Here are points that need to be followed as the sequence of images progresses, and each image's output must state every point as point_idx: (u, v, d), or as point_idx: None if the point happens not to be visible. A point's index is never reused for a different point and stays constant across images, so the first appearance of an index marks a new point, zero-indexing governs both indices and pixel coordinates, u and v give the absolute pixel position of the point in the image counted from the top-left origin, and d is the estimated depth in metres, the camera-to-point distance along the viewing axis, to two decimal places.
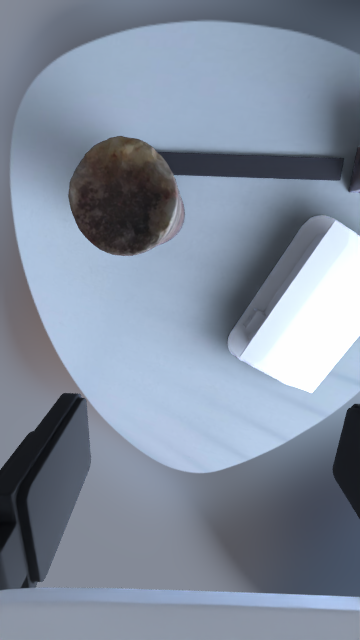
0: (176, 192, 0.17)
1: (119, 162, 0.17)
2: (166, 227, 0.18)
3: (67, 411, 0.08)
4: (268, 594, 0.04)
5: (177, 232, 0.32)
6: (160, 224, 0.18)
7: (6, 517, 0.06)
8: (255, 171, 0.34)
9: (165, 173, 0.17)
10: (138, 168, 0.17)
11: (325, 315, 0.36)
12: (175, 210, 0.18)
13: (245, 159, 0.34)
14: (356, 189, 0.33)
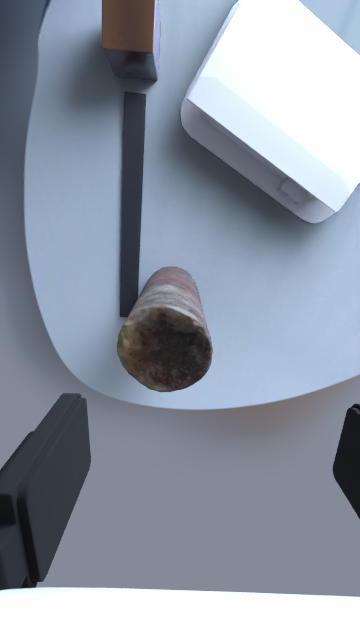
0: (160, 306, 0.19)
1: (136, 350, 0.20)
2: (190, 318, 0.19)
3: (67, 411, 0.08)
4: (268, 594, 0.04)
5: (189, 278, 0.33)
6: (187, 323, 0.19)
7: (6, 517, 0.06)
8: (136, 194, 0.35)
9: (145, 315, 0.19)
10: (140, 336, 0.20)
11: (301, 96, 0.29)
12: (175, 308, 0.19)
13: (126, 204, 0.35)
14: (155, 72, 0.30)
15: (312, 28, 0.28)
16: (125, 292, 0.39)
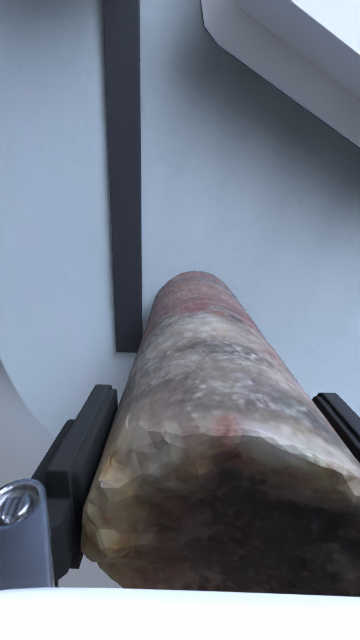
0: (221, 428, 0.05)
1: (142, 547, 0.07)
2: (338, 476, 0.05)
3: (103, 400, 0.09)
4: (268, 594, 0.04)
5: (229, 290, 0.20)
6: (323, 487, 0.05)
7: (62, 492, 0.06)
8: (132, 154, 0.21)
9: (167, 460, 0.05)
10: (154, 511, 0.06)
11: None
12: (280, 438, 0.05)
13: (115, 174, 0.21)
14: None
15: None
16: (122, 314, 0.25)
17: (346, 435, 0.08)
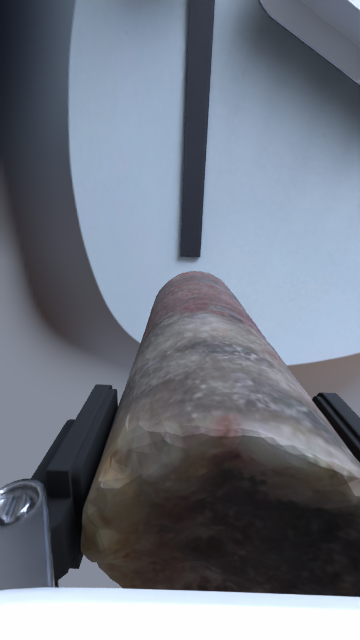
0: (222, 428, 0.05)
1: (142, 547, 0.07)
2: (338, 476, 0.05)
3: (103, 400, 0.09)
4: (268, 594, 0.04)
5: (229, 290, 0.20)
6: (323, 487, 0.05)
7: (62, 492, 0.06)
8: (203, 97, 0.29)
9: (167, 461, 0.05)
10: (154, 511, 0.06)
11: None
12: (280, 438, 0.05)
13: (190, 112, 0.29)
14: None
15: None
16: (187, 224, 0.33)
17: (346, 435, 0.08)
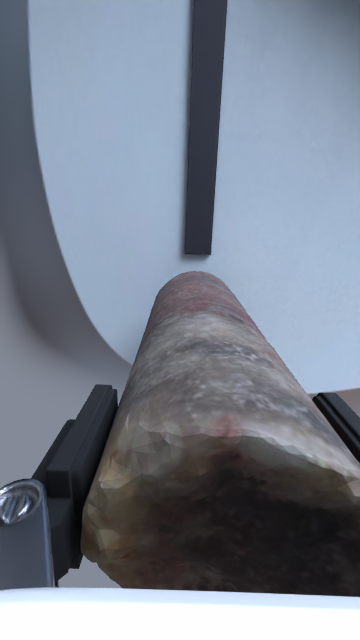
0: (221, 428, 0.05)
1: (142, 547, 0.07)
2: (338, 476, 0.05)
3: (103, 400, 0.09)
4: (268, 594, 0.04)
5: (229, 290, 0.20)
6: (323, 488, 0.05)
7: (62, 492, 0.06)
8: (217, 30, 0.21)
9: (167, 461, 0.05)
10: (154, 512, 0.06)
11: None
12: (280, 438, 0.05)
13: (198, 52, 0.21)
14: None
15: None
16: (194, 211, 0.24)
17: (346, 435, 0.08)
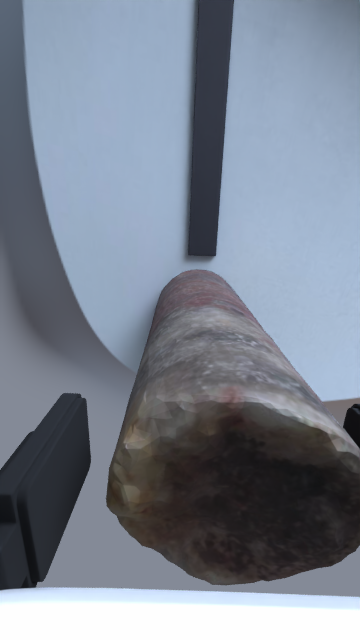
0: (227, 396, 0.06)
1: (158, 503, 0.08)
2: (323, 434, 0.06)
3: (67, 411, 0.08)
4: (268, 594, 0.04)
5: (230, 287, 0.21)
6: (311, 445, 0.06)
7: (6, 517, 0.06)
8: (224, 15, 0.19)
9: (182, 424, 0.07)
10: (170, 471, 0.07)
11: None
12: (276, 404, 0.06)
13: (204, 39, 0.20)
14: None
15: None
16: (198, 210, 0.23)
17: None
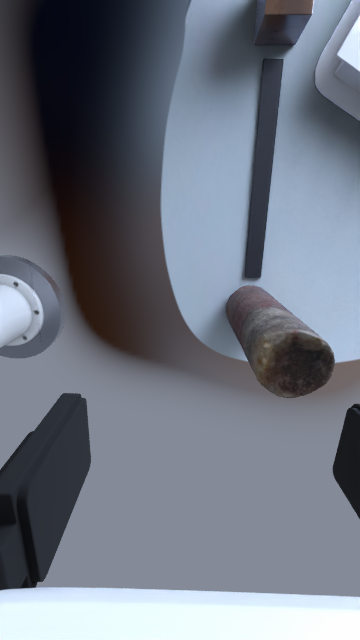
0: (294, 331, 0.24)
1: (270, 366, 0.26)
2: (319, 340, 0.24)
3: (67, 411, 0.08)
4: (268, 595, 0.04)
5: None
6: (316, 343, 0.24)
7: (6, 517, 0.06)
8: (268, 156, 0.37)
9: (281, 339, 0.25)
10: (275, 354, 0.25)
11: None
12: (307, 332, 0.24)
13: (258, 167, 0.38)
14: (299, 35, 0.32)
15: None
16: (251, 252, 0.41)
17: None
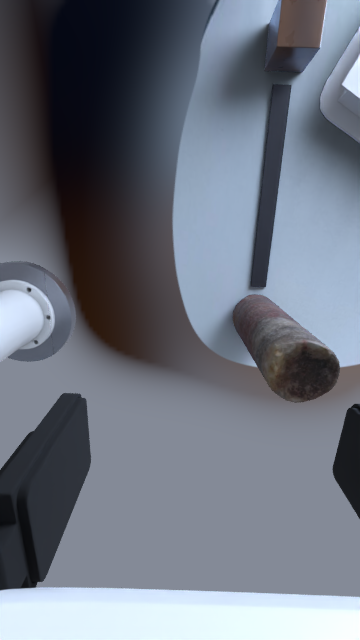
0: (303, 341, 0.27)
1: (281, 373, 0.28)
2: (326, 349, 0.26)
3: (67, 411, 0.08)
4: (268, 594, 0.04)
5: None
6: (323, 352, 0.27)
7: (6, 517, 0.06)
8: (275, 174, 0.40)
9: (292, 348, 0.27)
10: (286, 362, 0.28)
11: None
12: (315, 343, 0.27)
13: (265, 184, 0.40)
14: (306, 65, 0.35)
15: None
16: (257, 263, 0.43)
17: None
